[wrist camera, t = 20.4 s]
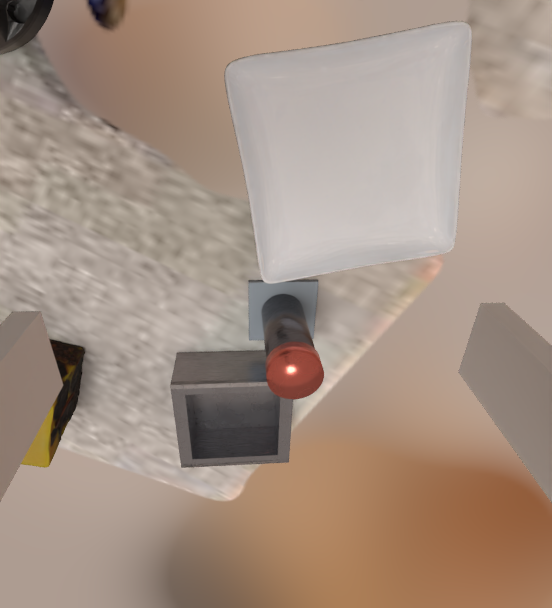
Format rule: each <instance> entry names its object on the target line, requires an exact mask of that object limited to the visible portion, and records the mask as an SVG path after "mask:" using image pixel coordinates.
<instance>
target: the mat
mask: <svg viewBox="0 0 552 608" xmlns="http://www.w3.org/2000/svg"><path fill="white" fill-rule="evenodd" d="M317 292H318V280H292V281H286V282H280V283H273V284H268V283H265V282H264V281H263V280H259V281H249V340H264V333H263V324H262V316H261V311H262V307H263V305H264V303H265V302H266V301H267V300H268V299H269V298H271V297H272V296H275V295H278V294H289V295H292V296H294V297H296V298H297V299H298V300H299V301H300V302H301V304H302V307H303V310H304V314H305V317H306V321H307V324H308V327H309V331H310V334H311V337H312V339H313V337H314V326H315V314H316V303H317Z"/></svg>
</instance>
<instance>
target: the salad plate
mask: <svg viewBox="0 0 552 608" xmlns="http://www.w3.org/2000/svg"><path fill="white" fill-rule="evenodd" d="M471 49H472V31H471V27H470V26H469V24H468V23H466V22H463V21H452V22H444V23H438V24H433V25H428V26H423V27H420V28H414V29H409V30H404V31H400V32H395V33H390V34H385V35H379V36H374V37H369V38H364V39H359V40H354V41H349V42H342V43H336V44H330V45H324V46H317V47H309V48H303V49H296V50H288V51H280V52H272V53H264V54H257V55H252V56H247V57H243V58H240V59H237V60H234V61H232V62H231V63H229V64H228V65H227V67H226V69H225V75H224V76H225V86H226V92H227V98H228V103H229V108H230V112H231V117H232V121H233V126H234V130H235V135H236V139H237V144H238V148H239V153H240V157H241V162H242V166H243V171H244V177H245V182H246V187H247V193H248V199H249V204H250V211H251V218H252V224H253V231H254V238H255V245H256V252H257V259H258V265H259V270H260V274H261V277H262V280H263V281H264V282H265V283H268V284H273V283H280V282H286V281H292V280H297V279H302V278H307V277H312V276H317V275H322V274H327V273H333V272H338V271H343V270H349V269H354V268H360V267H365V266H371V265H377V264H383V263H389V262H397V261H404V260H411V259H418V258H424V257H430V256H435V255H440V254H444V253H447V252H449V251H451V250H452V249H453V247H454V244H455V239H456V232H457V222H458V207H459V191H460V176H461V175H460V174H461V159H462V145H463V134H464V123H465V111H466V102H467V92H468V82H469V72H470V62H471Z"/></svg>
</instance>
